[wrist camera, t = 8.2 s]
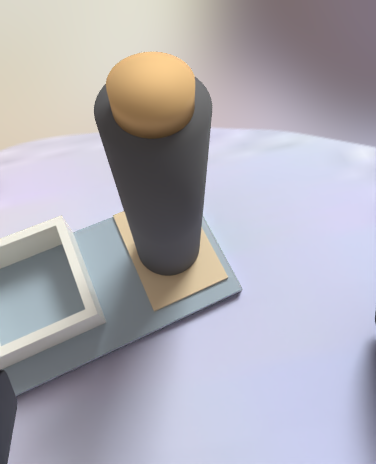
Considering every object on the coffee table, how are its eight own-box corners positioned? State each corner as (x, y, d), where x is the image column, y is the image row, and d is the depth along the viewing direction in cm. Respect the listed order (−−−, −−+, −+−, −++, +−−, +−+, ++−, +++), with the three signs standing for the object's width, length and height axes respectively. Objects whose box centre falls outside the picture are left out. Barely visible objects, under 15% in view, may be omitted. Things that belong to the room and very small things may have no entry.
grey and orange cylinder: (210, 259, 23) (237, 105, 11) (152, 286, 22) (113, 150, 10) (183, 209, 24) (181, 26, 12) (127, 232, 23) (69, 61, 12)
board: (241, 291, 23) (249, 276, 20) (2, 402, 20) (-26, 404, 17) (187, 191, 26) (188, 166, 23) (-28, 276, 23) (-56, 259, 20)
